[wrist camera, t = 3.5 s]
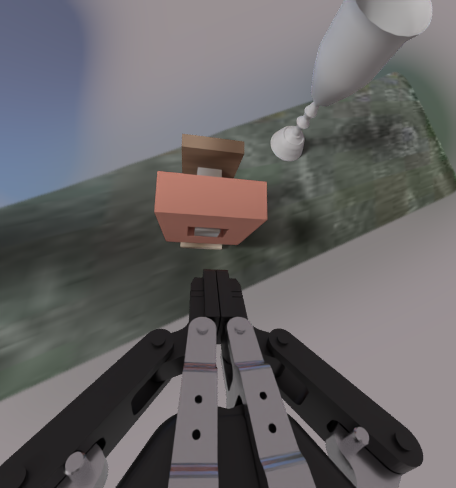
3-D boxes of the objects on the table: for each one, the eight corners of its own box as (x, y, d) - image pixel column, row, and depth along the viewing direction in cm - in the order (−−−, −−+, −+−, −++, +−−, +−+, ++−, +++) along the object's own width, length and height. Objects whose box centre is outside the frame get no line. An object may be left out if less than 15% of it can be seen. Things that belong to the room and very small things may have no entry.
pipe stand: (180, 247, 28) (177, 219, 17) (183, 194, 30) (182, 133, 18) (220, 249, 29) (244, 223, 18) (221, 197, 31) (244, 141, 19)
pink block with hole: (166, 241, 25) (154, 211, 16) (167, 215, 26) (157, 171, 16) (237, 244, 27) (267, 219, 17) (237, 219, 27) (266, 181, 18)
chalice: (274, 116, 35) (363, -59, 17) (314, 135, 35) (438, -14, 18) (257, 155, 33) (339, 5, 16) (300, 175, 34) (424, 53, 16)
